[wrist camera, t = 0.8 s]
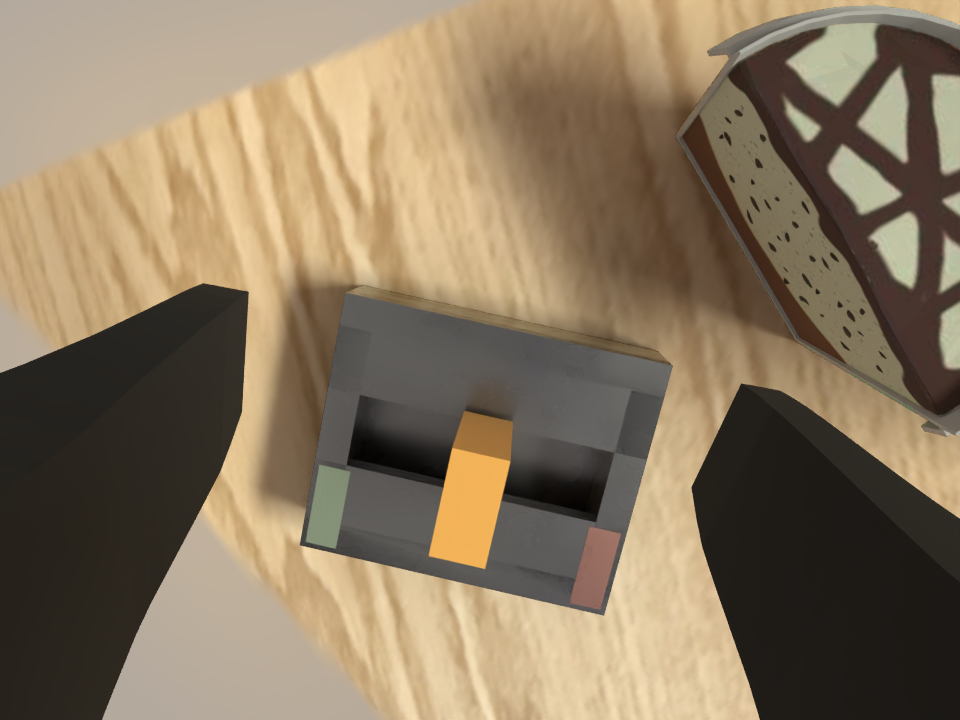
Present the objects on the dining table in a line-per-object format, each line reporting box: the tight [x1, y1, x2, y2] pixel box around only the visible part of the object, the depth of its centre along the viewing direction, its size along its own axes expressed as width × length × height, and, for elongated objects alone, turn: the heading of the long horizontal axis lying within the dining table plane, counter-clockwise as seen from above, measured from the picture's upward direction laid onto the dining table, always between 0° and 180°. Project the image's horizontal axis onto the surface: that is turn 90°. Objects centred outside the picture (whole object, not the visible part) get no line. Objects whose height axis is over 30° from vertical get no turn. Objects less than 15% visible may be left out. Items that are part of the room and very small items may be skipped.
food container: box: [675, 5, 960, 437], centre depth 22 cm, size 12×6×10 cm, turn 33°
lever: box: [429, 411, 513, 569], centre depth 26 cm, size 4×2×7 cm, turn 168°
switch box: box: [300, 285, 673, 615], centre depth 28 cm, size 10×12×3 cm
